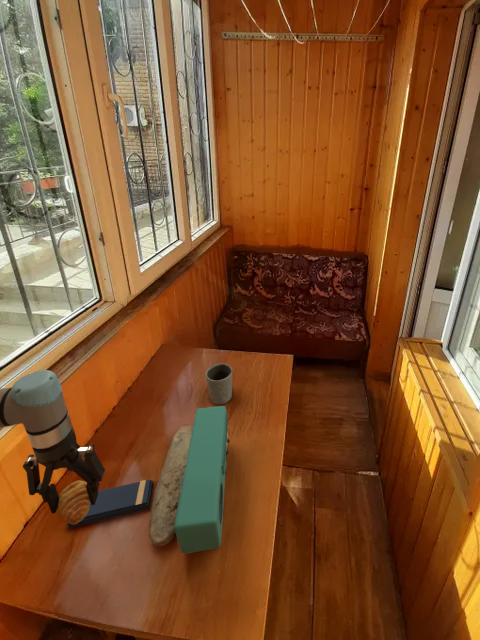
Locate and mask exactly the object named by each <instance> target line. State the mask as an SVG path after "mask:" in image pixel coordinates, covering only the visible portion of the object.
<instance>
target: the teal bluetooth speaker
mask: <svg viewBox="0 0 480 640" xmlns="http://www.w3.org/2000/svg"><path fill="white" fill-rule="evenodd" d="M194 414H195V415H194V420H193V425H192V428H193V430H192V435H191V440H190V445H189V451H188V456H187V461H186V467H185V472H184V477H183V482H182V488H181V493H180V498H179V504H178V509H177V514H176V520H175V525H174V530H175V536H176V540H177V543H178V546H179V551H180V552H181V554H184V555H185V554H186V555H187V554H192V553H198V552H204V551H213V550H217V549H220V548H221V546H222V538H223V537H222V536H223V523H224V522H223V521H224V507H225V506H224V505H225V489H226V474H227V457H228V454H229V450H228V444H229V443H230V438H229V431H228V425H229V420H228V419H229V418H228V411H227V408H226V406H225V405H217V406H209V407H199V408H196V410H195V413H194Z"/></svg>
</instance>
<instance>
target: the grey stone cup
mask: <svg viewBox="0 0 480 640" xmlns="http://www.w3.org/2000/svg"><path fill="white" fill-rule="evenodd" d="M205 379H206V381H207V388H208V392H209V399H210V401H211V402H212V403H213V404H215V405H224V404H226V403H228V402H229V401H231V399H232V396H233V368H232V366H230V365H229V364H226V363H216V364H214V365H212V366H210V367H209V368H208V369H207V370H206V372H205Z"/></svg>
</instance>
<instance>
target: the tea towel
mask: <svg viewBox="0 0 480 640" xmlns="http://www.w3.org/2000/svg"><path fill="white" fill-rule="evenodd" d="M153 490H154V480H153V479H142V480H140V481H138V482H132V483H127V484H123V485H119V486H113V487H110V488H105V489H101V490H98V496H97V499H96V502H95V505H91V503H90V507H89V511H88V513H87V515H86V516H85V518H84V519H83V520H82V521H80V522H78V523H77V524H75V525H72V524H69V523H68V522H67V528H68V529H73V528H77V527H81V526H85V525H90V524H93V523H97V522H101V521H102V522H103V521H105V520H110V519H114V518H118V517H122V516H123V517H124V516H127V515H130V514H136V513H139V512H143V511H147V510H150V507H151V502H152V497H153Z"/></svg>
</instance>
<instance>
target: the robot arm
mask: <svg viewBox="0 0 480 640" xmlns="http://www.w3.org/2000/svg"><path fill="white" fill-rule="evenodd" d="M20 424H21V425H22V426H23V427H24V430H25V432H26V435H27V438H28V440H29V444H30V446H31V449H32V452H33V454H29V455H28V456H27V458H26V459H25V461H24V463H23V465H22V468H23V470H24V471H25V473H26V479H27V488H28V495H29V496H34V495H36V494H38V495H39V496H41V498H42V501H43V502H44V503H47V504H48V507H49V510H50V512H51V514H56V513H57V511H58V502H59V496H60V495H59V492H58V490H57V488H56V484H55V483H51V482H52V477H53V474H54V471H56V470H60V469H67V470H68V471H69V472H74V473H75V474H76V475H77V476H78V477H79V478H81V479H82V481H85V482H87V485H86V490H87V493H88V496H89V499H90V502H91V505H95V502H96V499H97V496H98V491H99V488H100V482H102V481H103V478H104V476H105V471H106V469H105V467H104V465H103V463H102V462H101V460H100V458H99V456H98V455H97V453H96V451H95V444H94V443H89V444H88V446H84V447H83V446H81V445H79V443H78V441H77V435H76V432H75V429H74V426H73V423H72V419H71V416H70V413H69V410H68V407H67V404H66V401H65V397H64V392H63V386H62V385H61V383H60V381H59V378H58V377H57V374H56V373H55V372H54V371H52V370H48V369H39V370H35V371H34V372H31V373H27V374H24V375H22V376H21V377H20V378H18V379H17V380H16V381H15V382H14V383H13V384H12V386H9V387H4V388H3V387H2V388H0V429H2V428H6V427H12V426H15V425H20ZM39 464H40V465H41V466H44V467H45V469H44V471H43V477H42V481H41V474H40V465H39Z"/></svg>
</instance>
